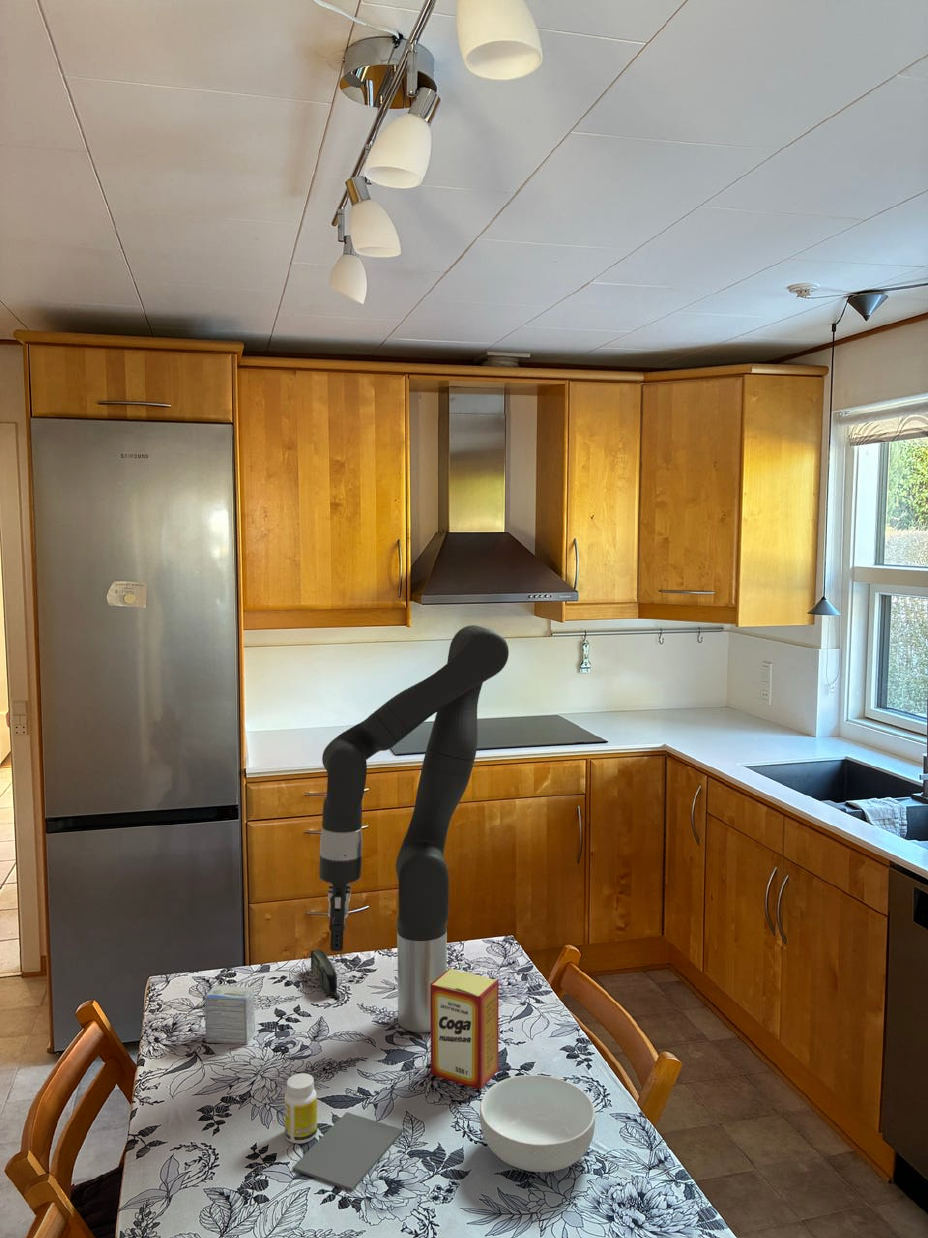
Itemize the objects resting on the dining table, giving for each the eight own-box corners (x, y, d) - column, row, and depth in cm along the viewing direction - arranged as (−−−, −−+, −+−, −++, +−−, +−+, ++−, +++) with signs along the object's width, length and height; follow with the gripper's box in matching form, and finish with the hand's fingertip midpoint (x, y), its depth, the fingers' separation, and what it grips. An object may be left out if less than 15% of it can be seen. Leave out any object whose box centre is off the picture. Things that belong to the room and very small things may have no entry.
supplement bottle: (323, 1130, 135) (322, 1076, 134) (305, 1148, 130) (304, 1093, 130) (297, 1121, 137) (296, 1068, 136) (278, 1139, 132) (277, 1085, 132)
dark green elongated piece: (308, 949, 187) (328, 977, 174) (322, 946, 189) (343, 974, 175) (308, 972, 188) (328, 1002, 174) (322, 969, 189) (343, 998, 175)
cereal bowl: (563, 1211, 118) (564, 1160, 117) (457, 1166, 127) (457, 1118, 126) (613, 1140, 132) (613, 1094, 132) (515, 1104, 141) (515, 1061, 141)
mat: (292, 1170, 126) (292, 1167, 126) (346, 1114, 138) (346, 1112, 138) (352, 1191, 121) (352, 1188, 121) (402, 1132, 134) (402, 1129, 134)
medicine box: (255, 1032, 163) (255, 986, 162) (247, 1045, 158) (246, 998, 158) (214, 1030, 164) (213, 984, 163) (204, 1043, 159) (203, 996, 159)
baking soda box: (430, 1074, 149) (430, 982, 148) (449, 1055, 155) (449, 966, 154) (480, 1090, 145) (480, 995, 144) (498, 1070, 150) (498, 978, 150)
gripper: (361, 865, 152) (357, 958, 153) (363, 839, 166) (359, 924, 167) (316, 865, 151) (313, 957, 152) (322, 839, 166) (319, 924, 167)
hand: (337, 940), depth 160 cm, fingers open, 8 cm apart
